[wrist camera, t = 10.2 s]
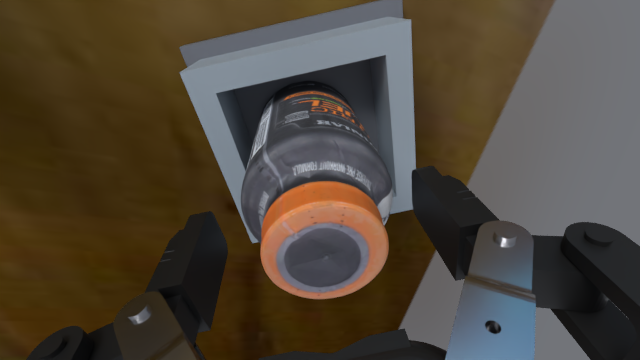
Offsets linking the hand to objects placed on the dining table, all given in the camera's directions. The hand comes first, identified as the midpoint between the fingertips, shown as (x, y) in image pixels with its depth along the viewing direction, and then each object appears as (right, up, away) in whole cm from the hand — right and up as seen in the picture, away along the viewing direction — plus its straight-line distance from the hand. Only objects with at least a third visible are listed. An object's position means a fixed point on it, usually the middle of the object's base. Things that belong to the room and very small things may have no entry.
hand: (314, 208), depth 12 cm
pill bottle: (-1, +5, +7) cm, 8 cm away
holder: (0, +5, +8) cm, 9 cm away
